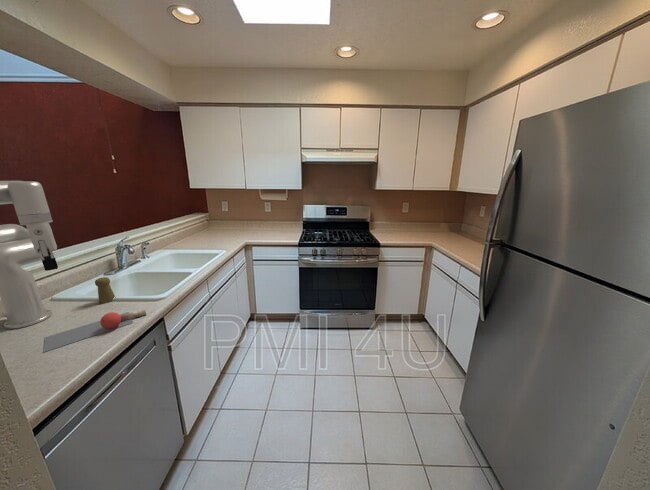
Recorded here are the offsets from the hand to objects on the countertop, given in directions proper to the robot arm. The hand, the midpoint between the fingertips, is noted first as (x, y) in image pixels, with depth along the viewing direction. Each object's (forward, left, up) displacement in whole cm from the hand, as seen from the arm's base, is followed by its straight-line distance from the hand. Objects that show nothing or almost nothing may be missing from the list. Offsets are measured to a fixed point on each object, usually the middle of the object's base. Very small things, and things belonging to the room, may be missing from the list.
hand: (51, 269), depth 91 cm
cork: (-2, +20, -23) cm, 31 cm away
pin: (+17, +3, -22) cm, 28 cm away
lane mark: (+11, -3, -23) cm, 26 cm away
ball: (+18, -1, -20) cm, 27 cm away
